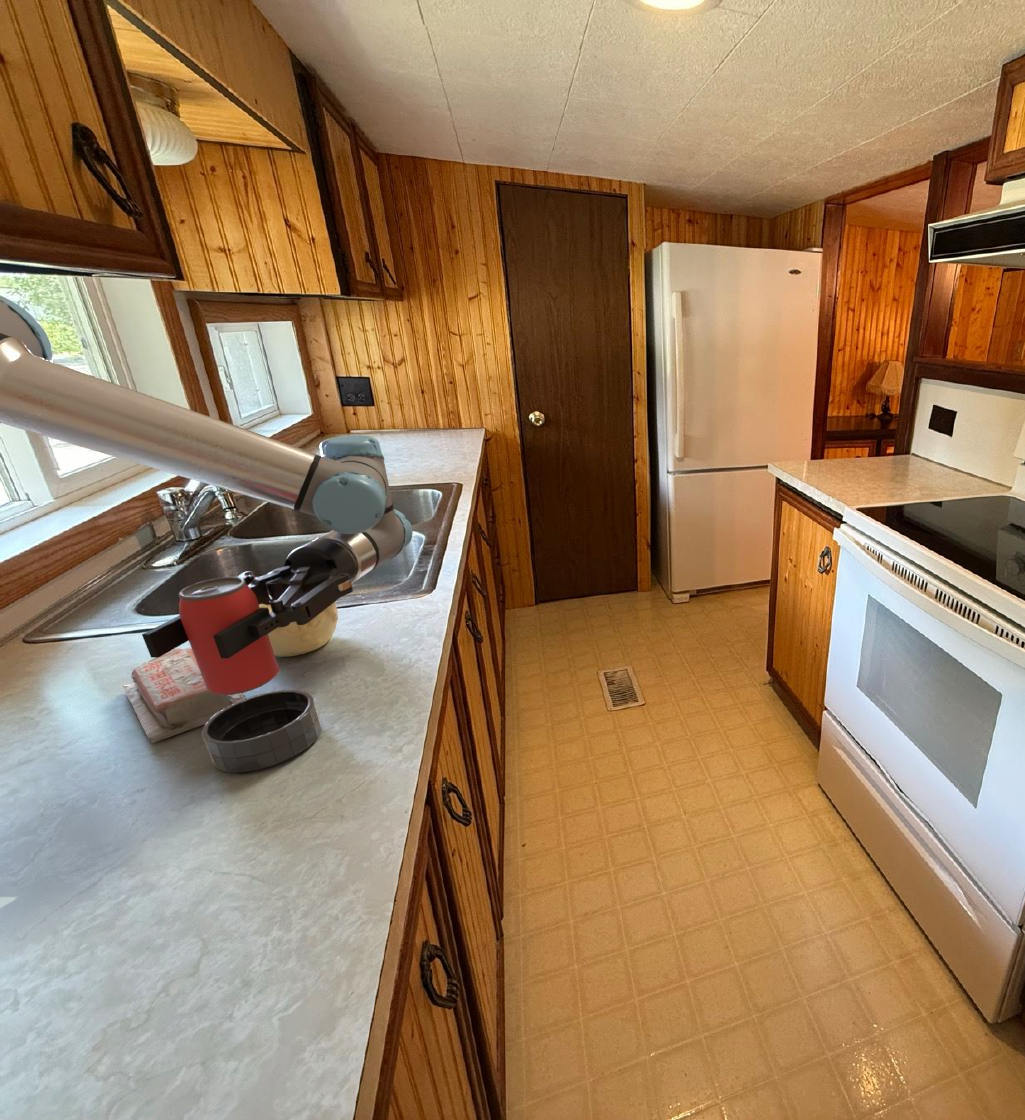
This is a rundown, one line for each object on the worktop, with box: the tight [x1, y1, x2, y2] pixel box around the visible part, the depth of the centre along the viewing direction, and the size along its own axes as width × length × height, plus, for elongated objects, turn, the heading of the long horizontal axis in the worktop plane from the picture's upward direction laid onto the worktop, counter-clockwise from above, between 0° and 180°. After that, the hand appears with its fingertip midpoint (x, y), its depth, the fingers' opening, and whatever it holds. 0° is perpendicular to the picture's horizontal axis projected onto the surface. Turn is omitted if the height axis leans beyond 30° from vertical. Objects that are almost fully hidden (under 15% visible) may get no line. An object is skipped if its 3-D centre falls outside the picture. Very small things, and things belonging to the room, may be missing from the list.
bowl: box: [201, 689, 322, 773], centre depth 73 cm, size 11×11×4 cm
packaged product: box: [122, 647, 247, 744], centre depth 81 cm, size 18×5×10 cm
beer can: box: [178, 576, 280, 695], centre depth 67 cm, size 7×7×12 cm
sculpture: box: [259, 595, 339, 658], centre depth 94 cm, size 11×12×11 cm
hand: (185, 646), depth 62 cm, fingers closed on beer can, 7 cm apart
